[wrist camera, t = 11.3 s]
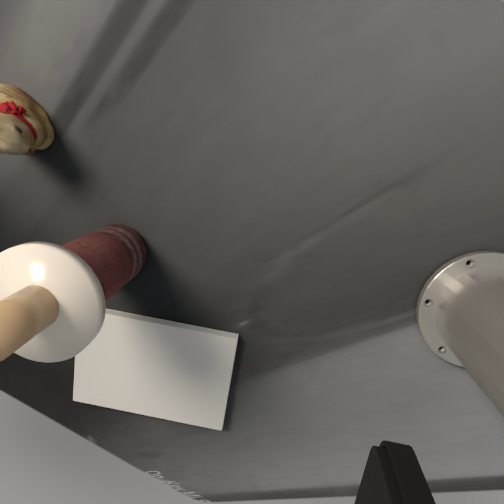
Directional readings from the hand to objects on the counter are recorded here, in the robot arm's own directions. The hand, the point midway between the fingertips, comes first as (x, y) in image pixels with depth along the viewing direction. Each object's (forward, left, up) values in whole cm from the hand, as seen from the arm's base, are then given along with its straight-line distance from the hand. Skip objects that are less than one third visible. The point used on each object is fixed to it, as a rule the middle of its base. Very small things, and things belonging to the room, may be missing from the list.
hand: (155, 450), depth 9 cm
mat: (+9, +20, -33) cm, 40 cm away
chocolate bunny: (+25, -5, -34) cm, 42 cm away
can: (+14, +7, -34) cm, 37 cm away
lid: (+14, +7, -19) cm, 25 cm away
